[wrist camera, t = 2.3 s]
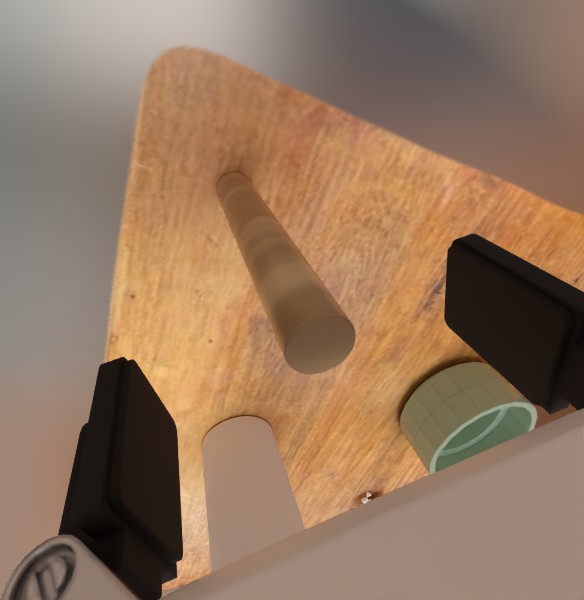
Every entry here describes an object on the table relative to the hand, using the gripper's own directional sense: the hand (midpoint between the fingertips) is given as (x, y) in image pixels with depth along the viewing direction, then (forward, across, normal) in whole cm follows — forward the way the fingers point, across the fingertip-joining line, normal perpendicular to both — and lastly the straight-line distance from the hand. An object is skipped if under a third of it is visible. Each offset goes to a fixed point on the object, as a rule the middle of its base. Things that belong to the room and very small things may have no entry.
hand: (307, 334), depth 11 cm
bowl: (+13, -15, +27) cm, 33 cm away
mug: (+14, +6, +22) cm, 27 cm away
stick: (+13, 0, 0) cm, 13 cm away
